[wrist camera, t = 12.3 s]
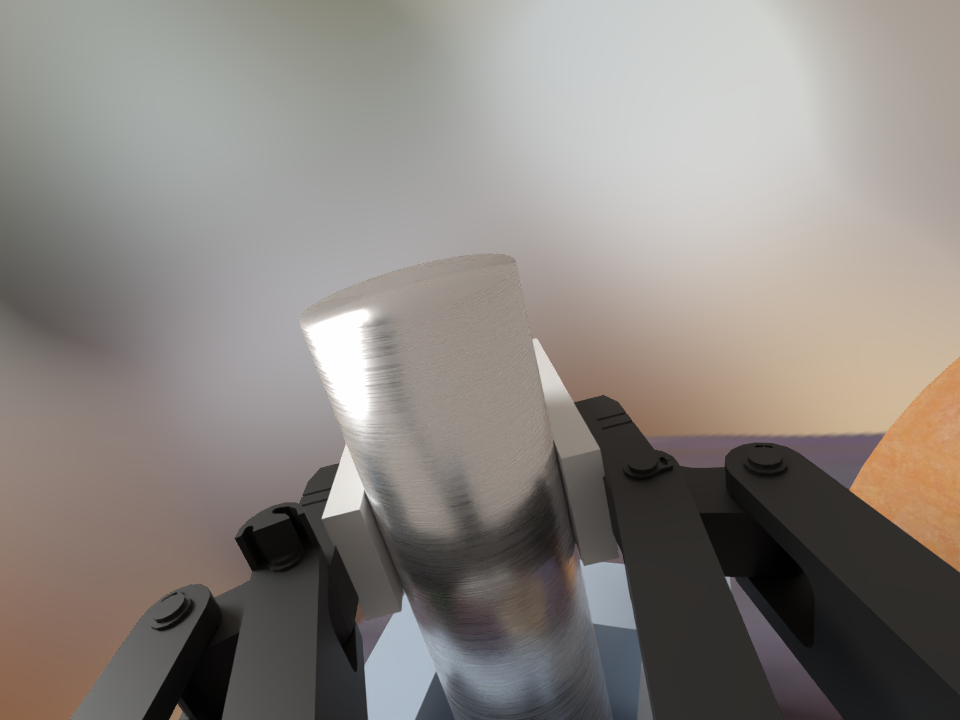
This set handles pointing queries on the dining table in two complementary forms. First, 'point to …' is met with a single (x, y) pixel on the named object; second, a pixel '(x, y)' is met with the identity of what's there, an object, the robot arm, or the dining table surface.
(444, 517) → the steel axle
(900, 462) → the arch
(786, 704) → the dining table surface
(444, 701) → the slate holder block
